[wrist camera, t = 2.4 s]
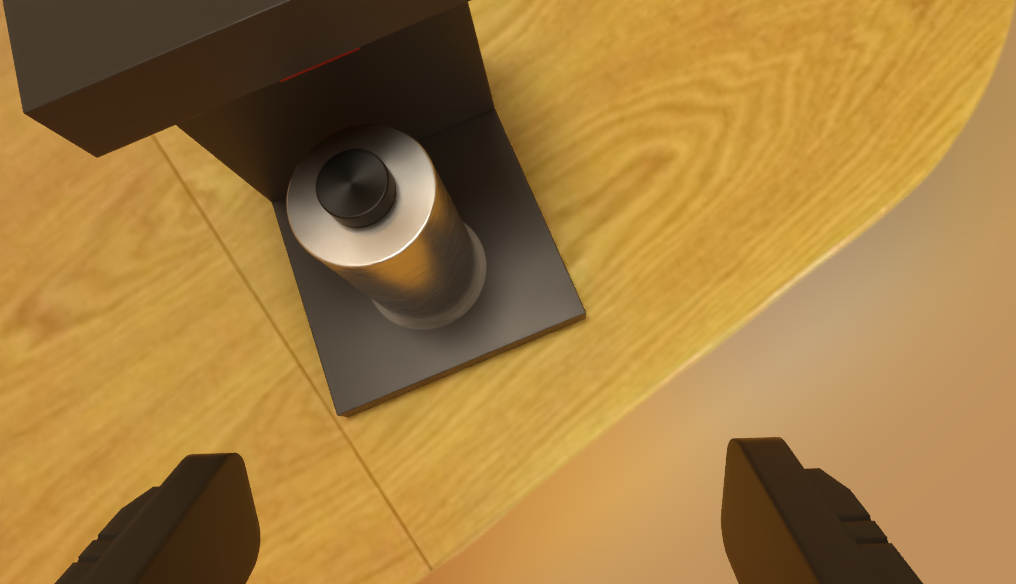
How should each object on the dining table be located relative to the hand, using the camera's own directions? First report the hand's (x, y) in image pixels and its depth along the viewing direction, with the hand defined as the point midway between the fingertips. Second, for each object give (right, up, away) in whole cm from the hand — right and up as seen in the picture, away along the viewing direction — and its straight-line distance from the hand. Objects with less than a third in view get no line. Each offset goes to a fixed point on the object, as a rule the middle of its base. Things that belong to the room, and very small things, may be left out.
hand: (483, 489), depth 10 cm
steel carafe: (-4, +5, +26) cm, 26 cm away
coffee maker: (-6, +7, +28) cm, 29 cm away
